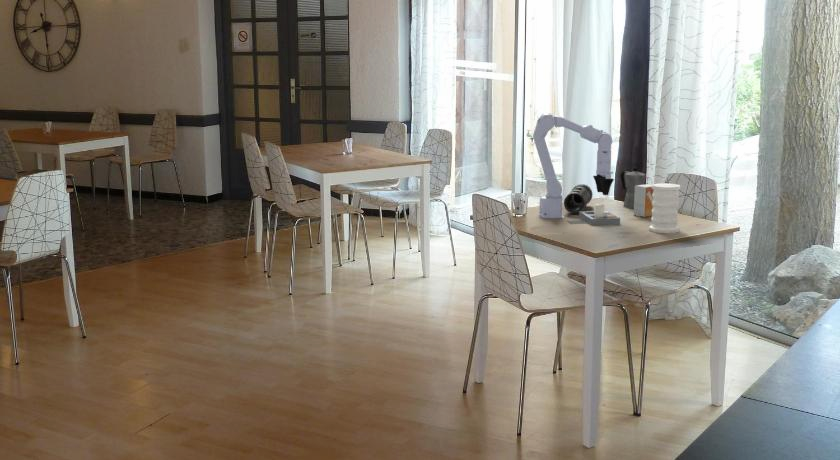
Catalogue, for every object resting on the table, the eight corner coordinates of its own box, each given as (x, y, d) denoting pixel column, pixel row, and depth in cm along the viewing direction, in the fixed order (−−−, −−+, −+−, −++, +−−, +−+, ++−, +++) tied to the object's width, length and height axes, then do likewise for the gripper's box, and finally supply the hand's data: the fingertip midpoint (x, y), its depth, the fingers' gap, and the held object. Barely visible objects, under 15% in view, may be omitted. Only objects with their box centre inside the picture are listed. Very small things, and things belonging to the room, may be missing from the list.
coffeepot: (652, 207, 421) (653, 168, 418) (637, 209, 416) (638, 169, 413) (627, 203, 434) (628, 164, 430) (612, 205, 429) (613, 166, 425)
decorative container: (674, 227, 375) (676, 183, 372) (683, 233, 364) (685, 187, 361) (645, 227, 375) (647, 183, 372) (653, 233, 364) (655, 187, 360)
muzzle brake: (562, 215, 403) (563, 192, 401) (571, 205, 430) (572, 183, 428) (585, 216, 401) (585, 192, 399) (592, 206, 427) (593, 183, 425)
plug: (595, 225, 381) (595, 205, 380) (592, 223, 385) (593, 204, 384) (604, 224, 382) (605, 205, 380) (601, 223, 386) (602, 203, 384)
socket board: (591, 226, 379) (591, 218, 378) (578, 218, 396) (579, 210, 396) (619, 225, 380) (620, 217, 379) (606, 217, 397) (606, 210, 397)
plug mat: (570, 225, 381) (570, 223, 381) (566, 222, 388) (566, 220, 388) (587, 224, 382) (587, 223, 382) (582, 221, 389) (582, 220, 389)
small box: (644, 217, 397) (645, 187, 395) (633, 215, 402) (634, 185, 400) (657, 215, 402) (658, 185, 400) (645, 213, 407) (647, 183, 405)
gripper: (618, 163, 386) (617, 196, 389) (607, 159, 400) (606, 190, 403) (601, 163, 385) (600, 196, 388) (591, 159, 399) (590, 191, 402)
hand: (602, 193), depth 395 cm, fingers open, 7 cm apart
